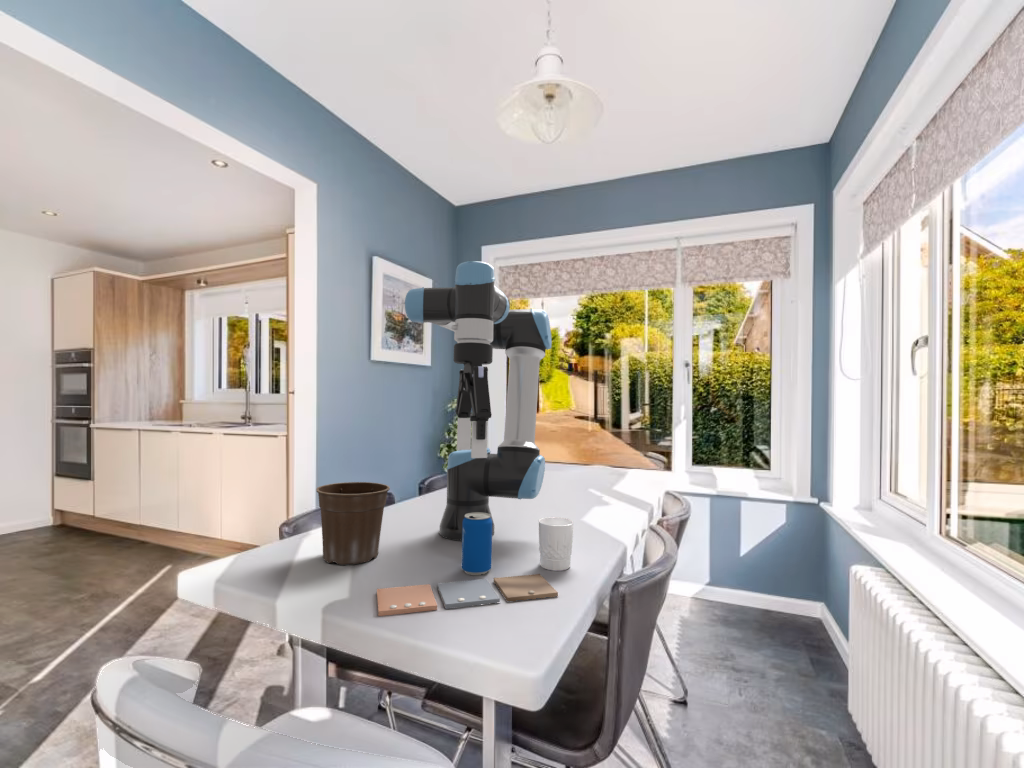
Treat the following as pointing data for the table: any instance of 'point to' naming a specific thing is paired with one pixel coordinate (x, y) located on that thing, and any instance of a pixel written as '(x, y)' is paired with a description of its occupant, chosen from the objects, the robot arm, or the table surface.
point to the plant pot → (351, 520)
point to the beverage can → (476, 543)
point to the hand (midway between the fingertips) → (470, 453)
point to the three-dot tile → (405, 600)
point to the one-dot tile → (524, 587)
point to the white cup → (555, 543)
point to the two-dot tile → (467, 593)
